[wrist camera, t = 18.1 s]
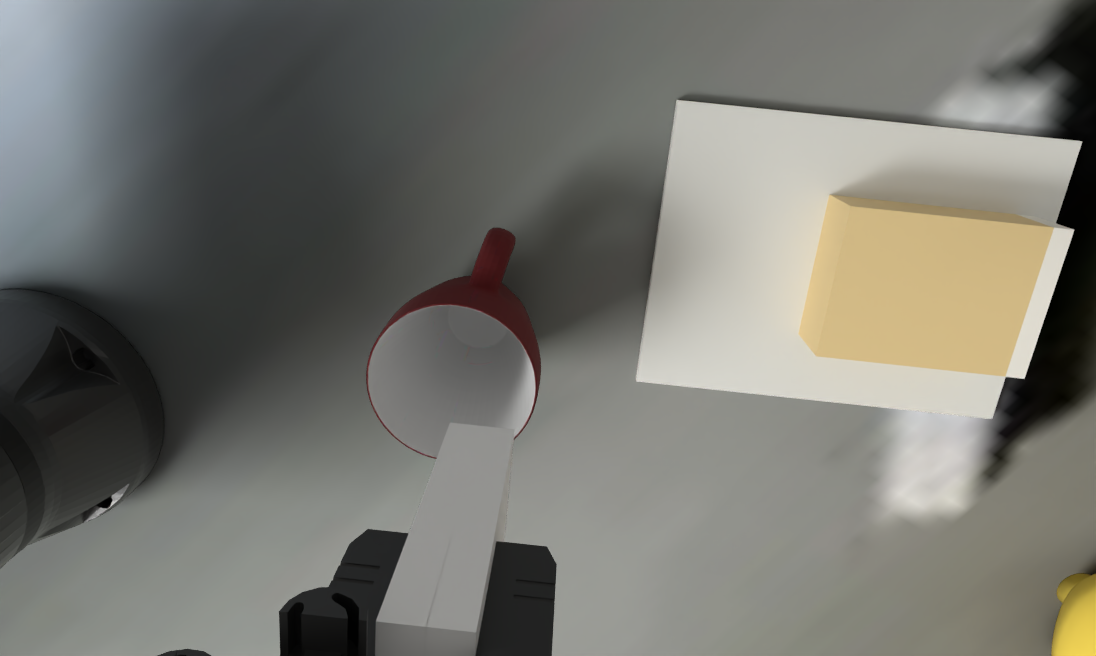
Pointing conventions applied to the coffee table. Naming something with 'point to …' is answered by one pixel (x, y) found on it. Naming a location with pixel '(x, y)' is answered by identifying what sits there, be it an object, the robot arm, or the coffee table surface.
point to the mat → (811, 244)
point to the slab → (931, 286)
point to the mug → (457, 357)
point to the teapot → (1076, 617)
